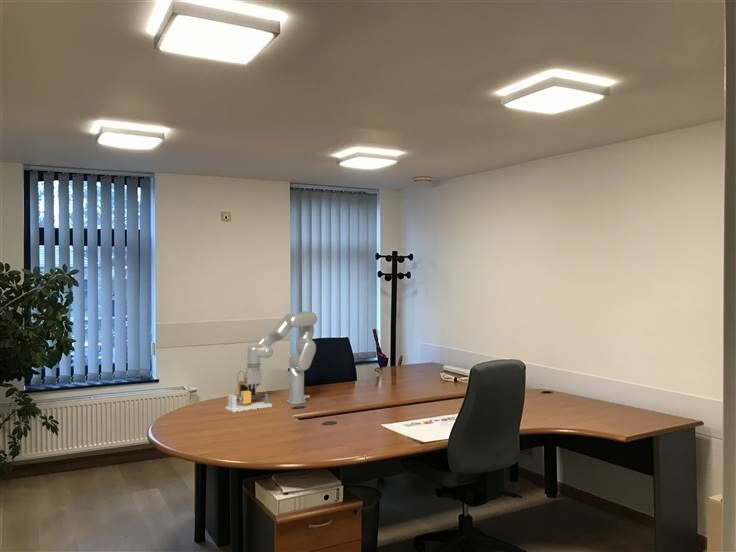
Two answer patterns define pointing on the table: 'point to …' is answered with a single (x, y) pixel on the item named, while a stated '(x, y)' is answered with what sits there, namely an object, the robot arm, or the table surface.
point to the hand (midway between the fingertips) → (252, 394)
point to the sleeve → (246, 397)
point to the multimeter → (243, 387)
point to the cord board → (234, 407)
